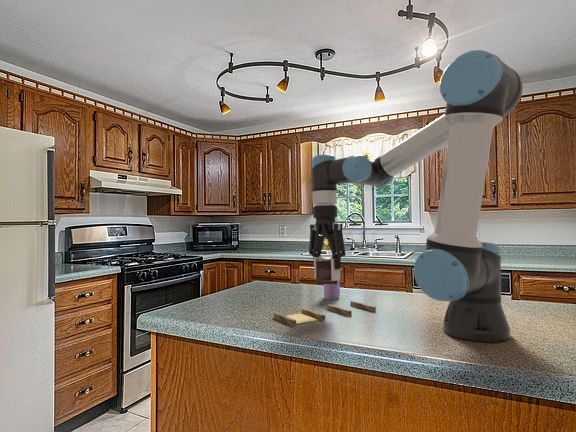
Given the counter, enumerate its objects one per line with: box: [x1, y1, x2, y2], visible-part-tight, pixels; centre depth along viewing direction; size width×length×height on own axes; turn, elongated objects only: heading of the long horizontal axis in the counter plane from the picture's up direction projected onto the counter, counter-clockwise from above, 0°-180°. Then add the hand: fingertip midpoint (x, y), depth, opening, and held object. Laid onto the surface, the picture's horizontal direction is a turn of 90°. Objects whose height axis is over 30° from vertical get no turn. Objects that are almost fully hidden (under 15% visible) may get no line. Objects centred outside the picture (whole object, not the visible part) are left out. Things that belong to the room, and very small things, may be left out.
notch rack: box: [273, 300, 377, 327], centre depth 114 cm, size 11×31×2 cm, turn 121°
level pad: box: [286, 312, 319, 326], centre depth 109 cm, size 9×8×1 cm
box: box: [316, 258, 337, 285], centre depth 114 cm, size 6×6×7 cm
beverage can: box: [323, 257, 341, 300], centre depth 139 cm, size 6×6×15 cm
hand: (327, 278), depth 114 cm, fingers closed on box, 8 cm apart
